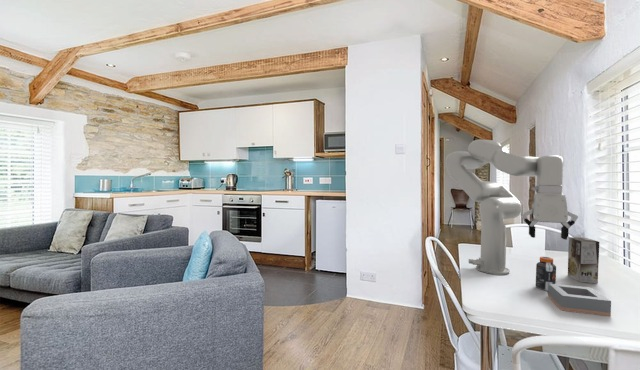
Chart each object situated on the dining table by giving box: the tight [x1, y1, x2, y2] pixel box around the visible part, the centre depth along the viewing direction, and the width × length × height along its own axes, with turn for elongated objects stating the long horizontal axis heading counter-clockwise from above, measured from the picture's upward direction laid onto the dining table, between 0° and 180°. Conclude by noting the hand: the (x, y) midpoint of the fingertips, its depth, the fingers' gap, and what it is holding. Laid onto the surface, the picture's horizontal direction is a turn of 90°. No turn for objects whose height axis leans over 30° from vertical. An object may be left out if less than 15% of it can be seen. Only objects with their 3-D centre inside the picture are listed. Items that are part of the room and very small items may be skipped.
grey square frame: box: [547, 283, 612, 317], centre depth 102 cm, size 12×12×4 cm
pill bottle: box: [535, 256, 557, 292], centre depth 117 cm, size 6×6×11 cm
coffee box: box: [567, 236, 600, 284], centre depth 129 cm, size 9×6×16 cm
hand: (548, 237), depth 117 cm, fingers open, 9 cm apart
